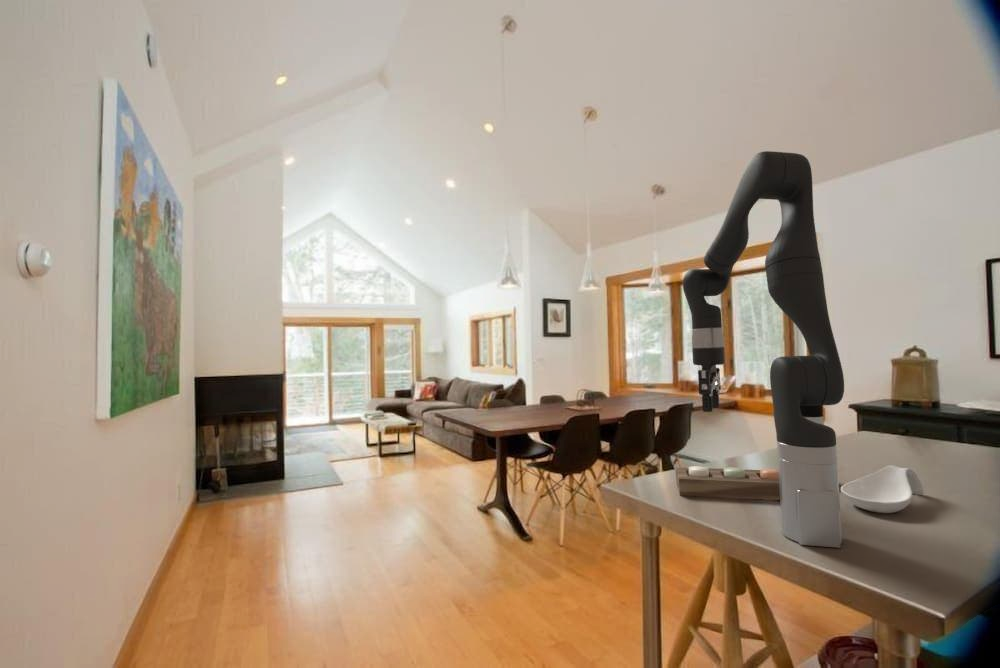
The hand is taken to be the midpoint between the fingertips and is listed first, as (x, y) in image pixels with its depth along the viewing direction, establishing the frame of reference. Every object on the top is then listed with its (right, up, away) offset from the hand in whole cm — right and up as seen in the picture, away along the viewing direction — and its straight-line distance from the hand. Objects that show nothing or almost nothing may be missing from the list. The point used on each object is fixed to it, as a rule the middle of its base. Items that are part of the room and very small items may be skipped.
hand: (711, 409), depth 119 cm
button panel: (+3, -19, -6) cm, 20 cm away
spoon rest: (+31, -18, -17) cm, 40 cm away
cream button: (-5, -17, -4) cm, 18 cm away
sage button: (+3, -16, -6) cm, 18 cm away
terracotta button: (+11, -16, -8) cm, 21 cm away
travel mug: (+26, -18, 0) cm, 32 cm away
